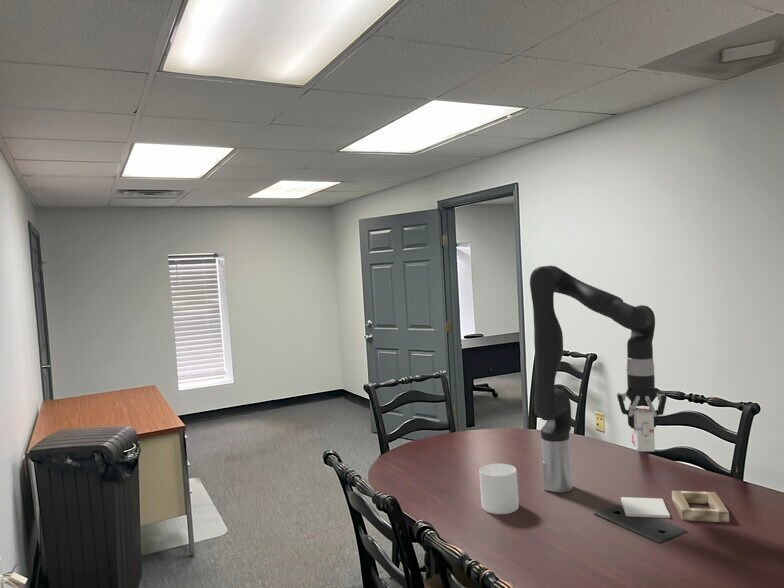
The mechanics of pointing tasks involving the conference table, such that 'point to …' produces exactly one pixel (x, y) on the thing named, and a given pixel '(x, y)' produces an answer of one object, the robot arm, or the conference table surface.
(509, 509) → the cup
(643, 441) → the ink cartridge box
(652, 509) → the pad
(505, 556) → the conference table surface
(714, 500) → the frame
